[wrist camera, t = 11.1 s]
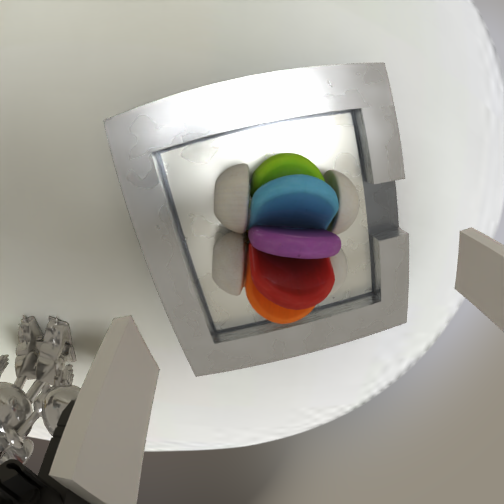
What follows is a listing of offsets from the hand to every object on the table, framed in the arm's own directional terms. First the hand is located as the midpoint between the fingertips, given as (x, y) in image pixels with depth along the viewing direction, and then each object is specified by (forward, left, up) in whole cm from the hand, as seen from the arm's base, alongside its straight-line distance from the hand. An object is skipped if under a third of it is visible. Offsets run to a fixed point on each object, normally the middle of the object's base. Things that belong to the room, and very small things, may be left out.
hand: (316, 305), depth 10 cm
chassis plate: (0, 0, -11) cm, 11 cm away
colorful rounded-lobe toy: (0, 0, -11) cm, 11 cm away
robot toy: (+6, -22, -12) cm, 25 cm away
